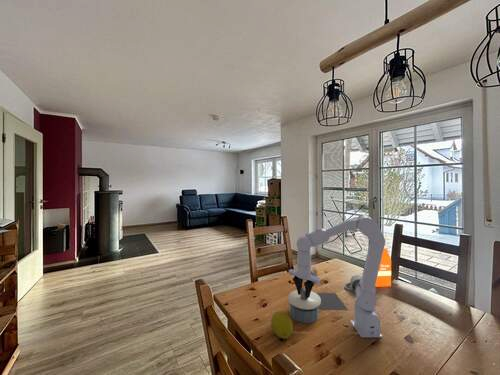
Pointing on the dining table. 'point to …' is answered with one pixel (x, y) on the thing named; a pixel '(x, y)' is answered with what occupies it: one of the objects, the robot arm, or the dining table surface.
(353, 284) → the ceramic mug
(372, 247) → the robot arm
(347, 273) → the dining table surface
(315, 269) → the architectural model
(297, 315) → the blue pet bowl
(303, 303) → the white lid
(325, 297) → the rubber mat
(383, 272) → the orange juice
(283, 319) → the lemon
